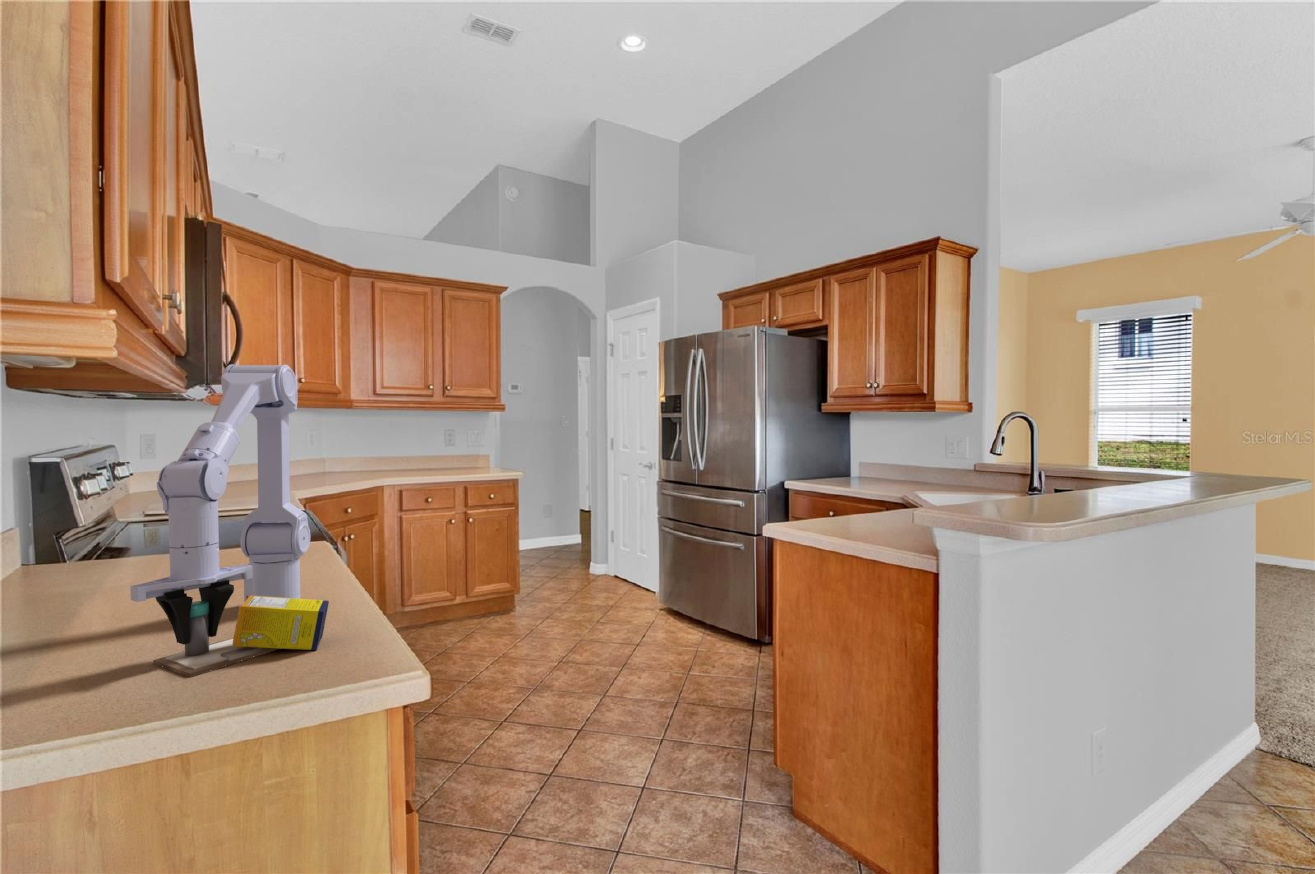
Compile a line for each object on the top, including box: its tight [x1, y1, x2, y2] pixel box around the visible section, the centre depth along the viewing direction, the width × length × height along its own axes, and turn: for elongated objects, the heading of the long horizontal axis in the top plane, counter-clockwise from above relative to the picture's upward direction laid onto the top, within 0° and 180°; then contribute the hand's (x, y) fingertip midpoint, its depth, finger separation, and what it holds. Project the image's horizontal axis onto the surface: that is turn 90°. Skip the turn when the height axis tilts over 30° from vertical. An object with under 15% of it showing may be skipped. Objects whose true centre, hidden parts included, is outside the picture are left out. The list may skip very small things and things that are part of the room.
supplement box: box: [232, 595, 330, 651], centre depth 94 cm, size 6×6×11 cm
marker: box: [184, 600, 210, 656], centre depth 90 cm, size 3×3×7 cm
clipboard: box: [152, 637, 281, 678], centre depth 93 cm, size 10×16×1 cm, turn 151°
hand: (196, 639), depth 90 cm, fingers closed on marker, 3 cm apart
